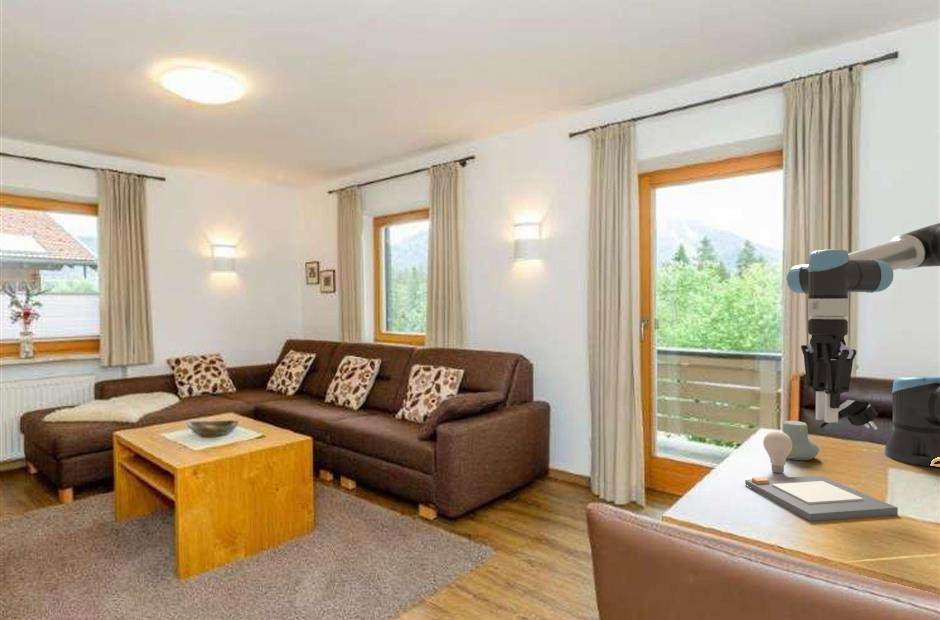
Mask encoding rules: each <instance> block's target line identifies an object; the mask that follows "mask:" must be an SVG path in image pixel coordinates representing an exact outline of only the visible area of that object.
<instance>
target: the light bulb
mask: <svg viewBox="0 0 940 620" xmlns="http://www.w3.org/2000/svg"><path fill="white" fill-rule="evenodd" d="M762 445H763V447H764V449H765V451H766V453H767V455H768V457H769V461H770V463H771V471H772V472H773V473H775V474H783V473H784V471H785V465H786V461H787V459H788V458H787V457H788V455H789V454H790V452H791V450H792V441H791V439H790V437H789V436H788V435H787V434H785V433H783V431H780V430H774V431H773V430H772V431H769V432H768V433H766V434H765V436H764V437H763V443H762Z"/></svg>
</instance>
